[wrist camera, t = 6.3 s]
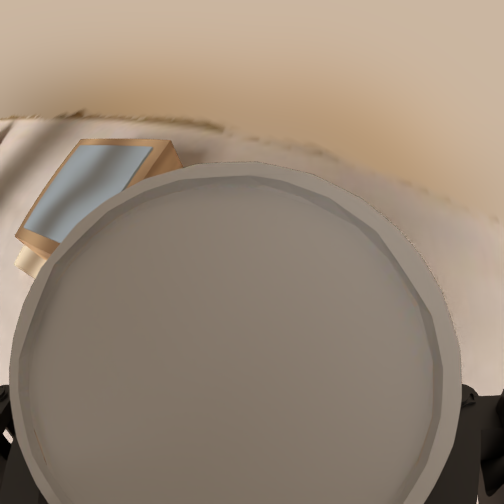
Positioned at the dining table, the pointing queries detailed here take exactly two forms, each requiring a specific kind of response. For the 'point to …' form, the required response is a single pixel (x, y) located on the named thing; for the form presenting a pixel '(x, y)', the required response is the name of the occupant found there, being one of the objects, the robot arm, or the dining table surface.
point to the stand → (87, 190)
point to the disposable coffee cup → (235, 349)
